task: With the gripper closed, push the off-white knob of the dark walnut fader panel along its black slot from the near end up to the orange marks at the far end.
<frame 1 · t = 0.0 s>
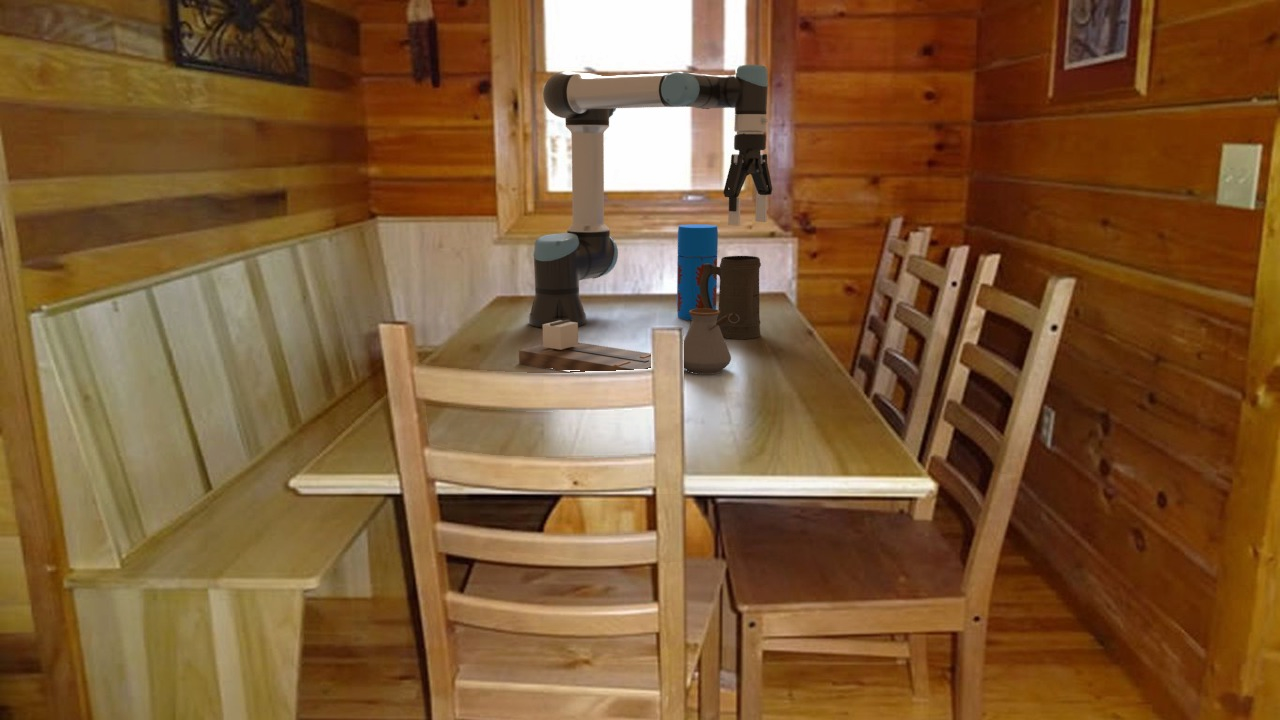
hand: (747, 223, 227), 28 cm above the table, fingers open, 13 cm apart
fader knob: (560, 333, 206), point 6 cm above the table, slide at -10.0 cm
fader panel: (597, 367, 201), on the table
beer stein: (729, 335, 236), on the table
thermos: (696, 317, 261), on the table
coffee pot: (712, 376, 195), on the table
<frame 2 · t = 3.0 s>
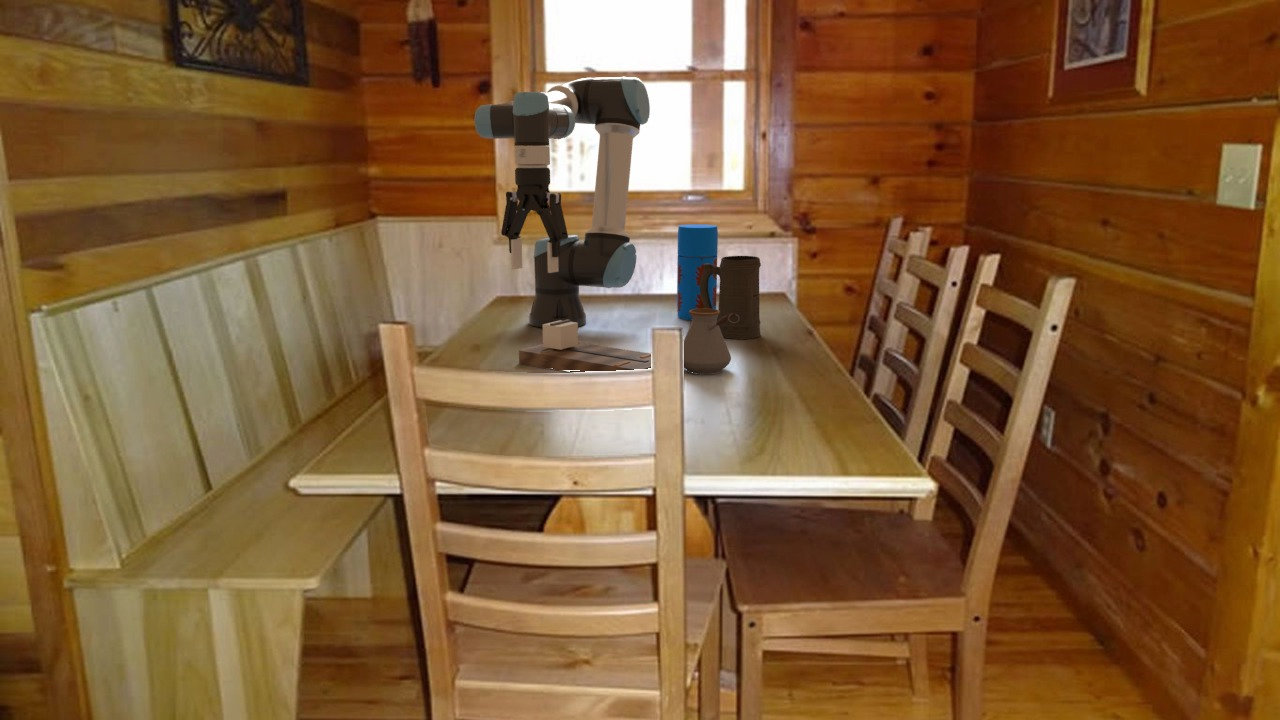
hand: (534, 270, 206), 20 cm above the table, fingers open, 10 cm apart
nothing on the table moved.
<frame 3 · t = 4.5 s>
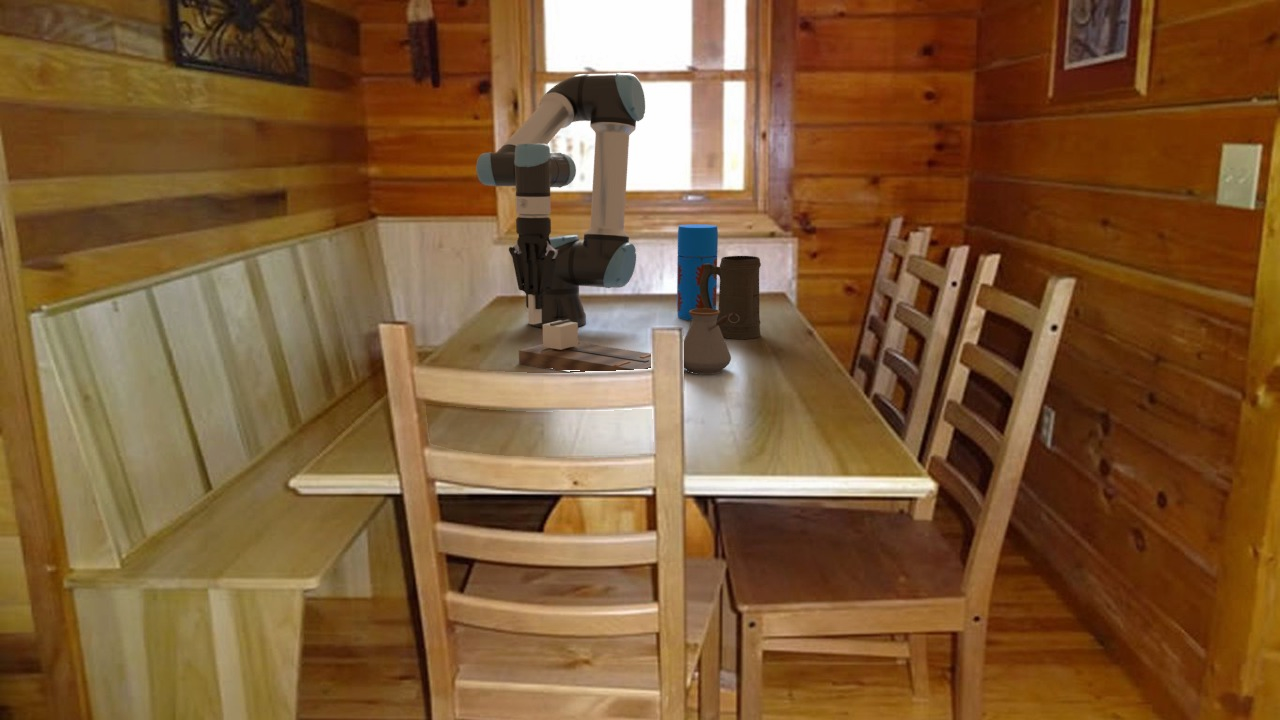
hand: (535, 323, 209), 8 cm above the table, fingers closed
nothing on the table moved.
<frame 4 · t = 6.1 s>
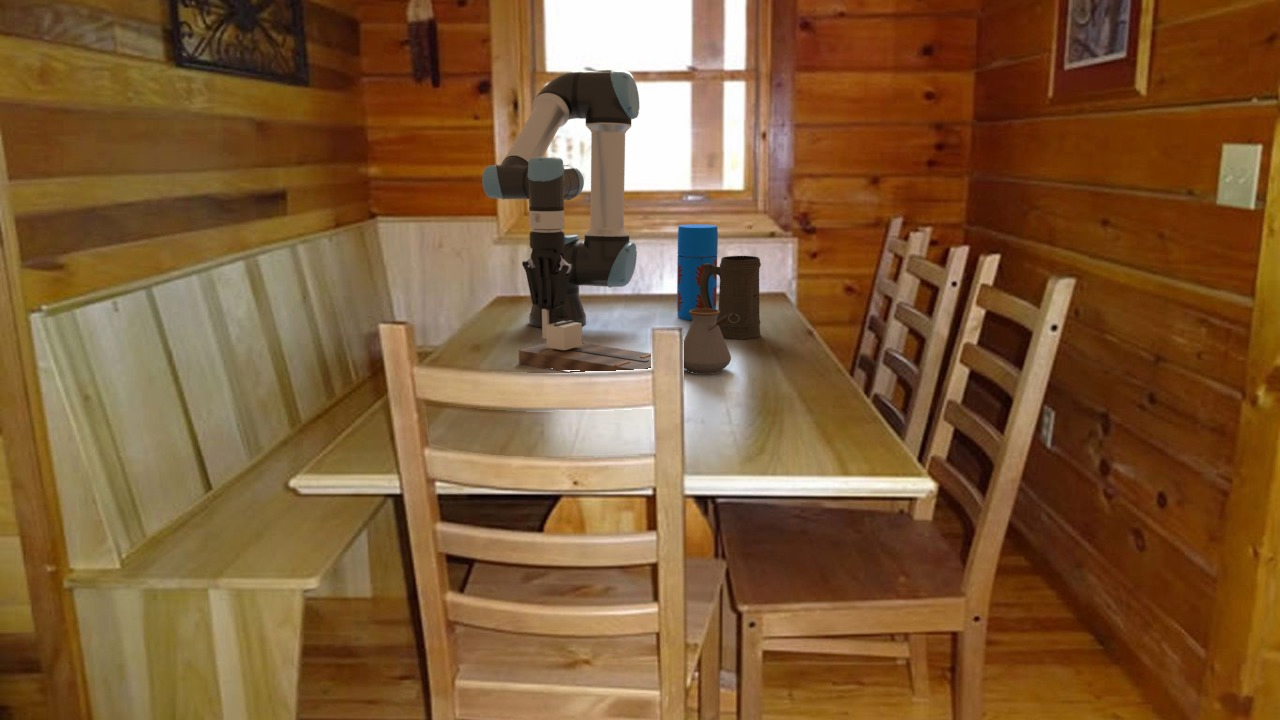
hand: (549, 337, 207), 5 cm above the table, fingers closed
fader knob: (564, 334, 205), point 6 cm above the table, slide at -8.9 cm, touching gripper
everything else where it was.
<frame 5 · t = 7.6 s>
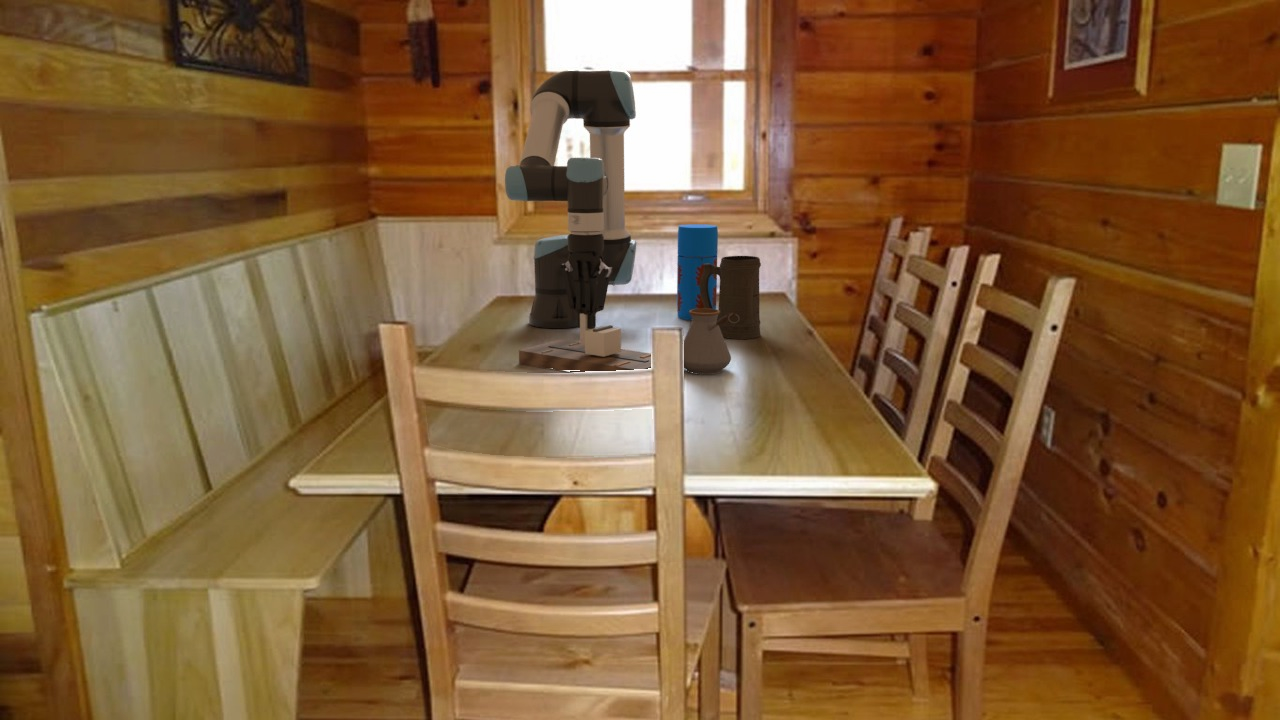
hand: (586, 343, 201), 5 cm above the table, fingers closed
fader knob: (603, 340, 199), point 6 cm above the table, slide at 1.7 cm, touching gripper
everything else where it was.
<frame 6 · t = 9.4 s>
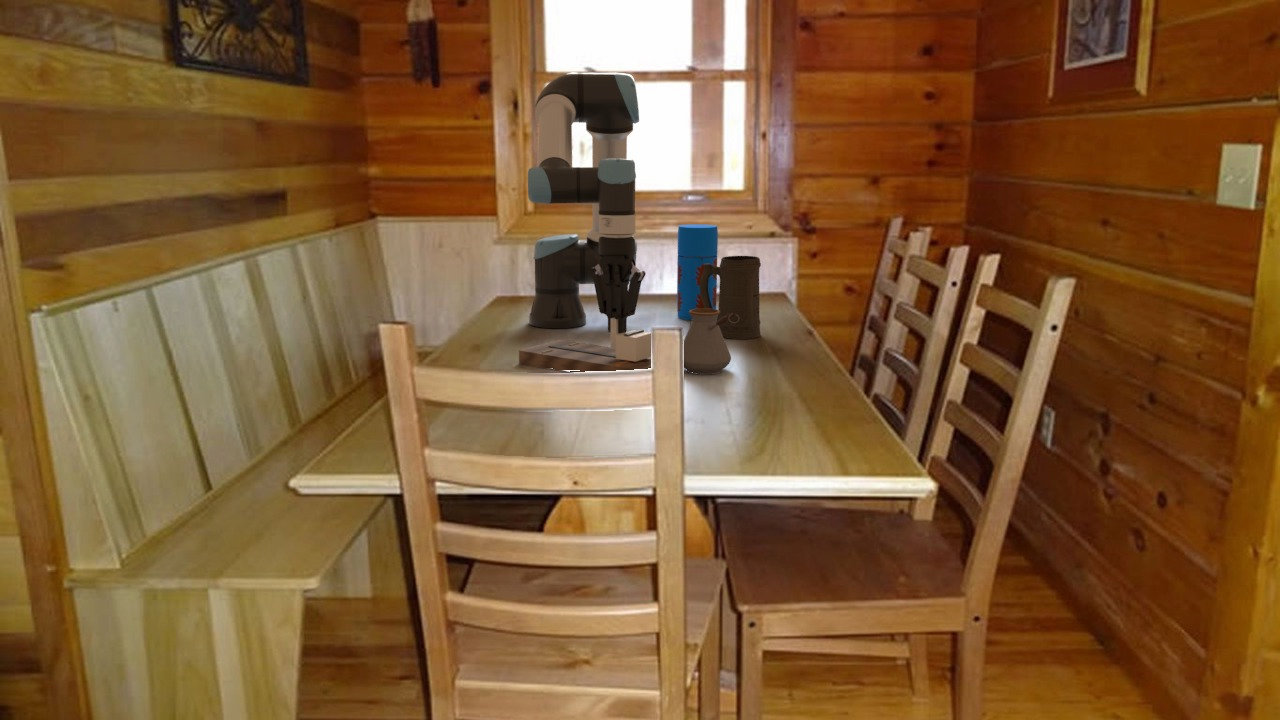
hand: (617, 348, 197), 5 cm above the table, fingers closed
fader knob: (634, 344, 195), point 6 cm above the table, slide at 9.7 cm, touching gripper
everything else where it was.
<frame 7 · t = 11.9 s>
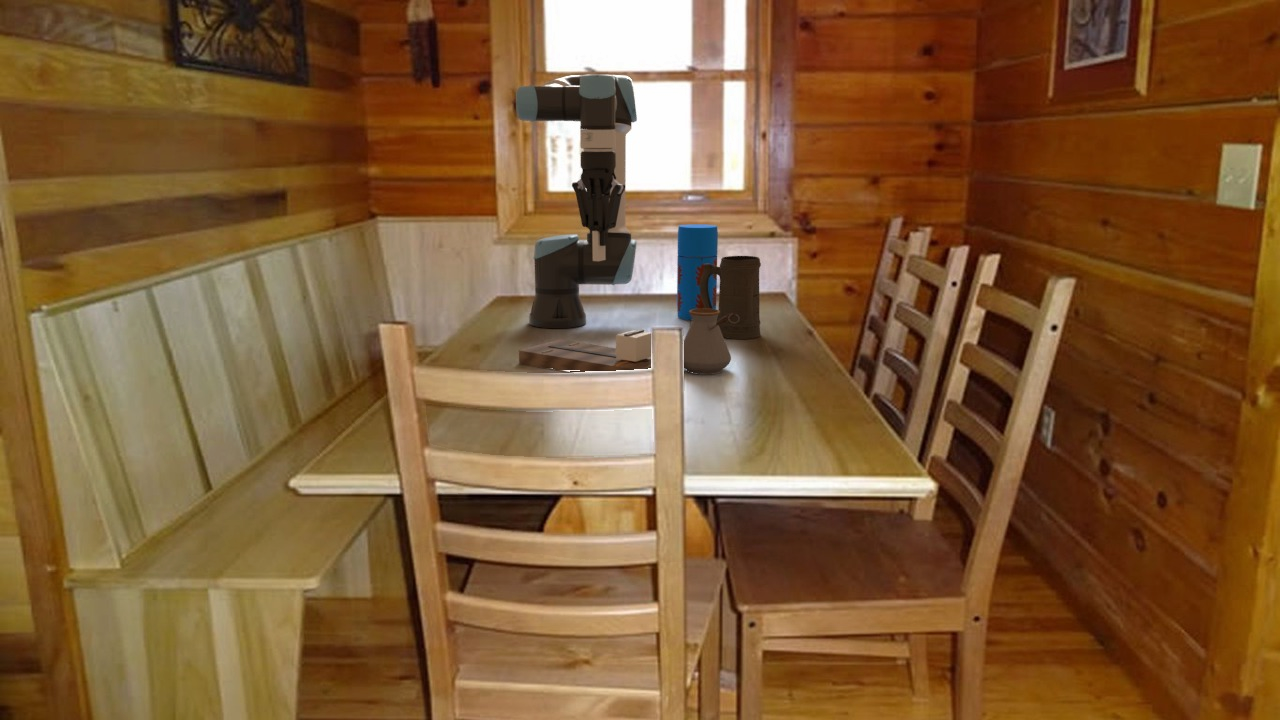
hand: (599, 260, 206), 22 cm above the table, fingers closed
fader knob: (634, 344, 195), point 6 cm above the table, slide at 9.8 cm
everything else where it was.
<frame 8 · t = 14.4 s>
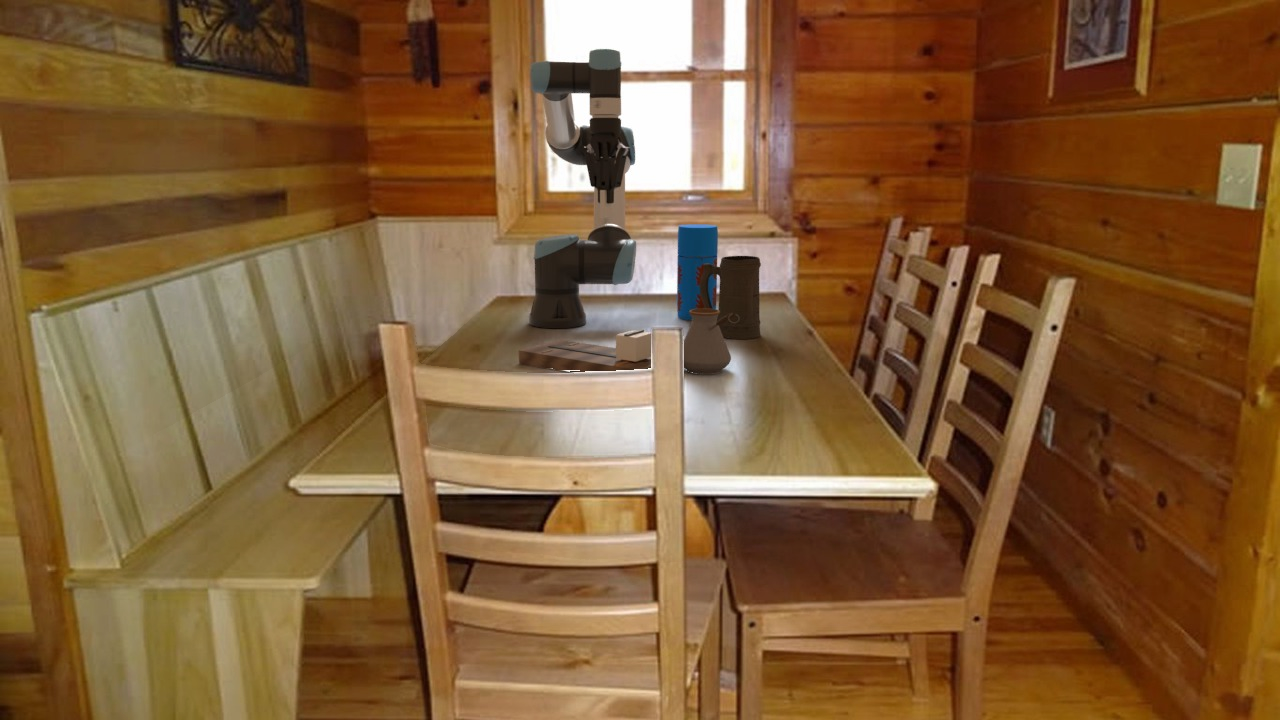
hand: (605, 217, 229), 29 cm above the table, fingers closed
nothing on the table moved.
at the end: fader knob slide at 9.8 cm; coffee pot moved 0.2 cm from its start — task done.
